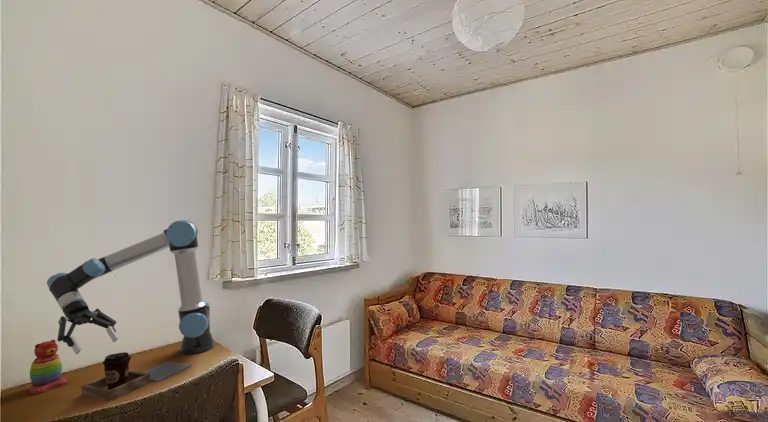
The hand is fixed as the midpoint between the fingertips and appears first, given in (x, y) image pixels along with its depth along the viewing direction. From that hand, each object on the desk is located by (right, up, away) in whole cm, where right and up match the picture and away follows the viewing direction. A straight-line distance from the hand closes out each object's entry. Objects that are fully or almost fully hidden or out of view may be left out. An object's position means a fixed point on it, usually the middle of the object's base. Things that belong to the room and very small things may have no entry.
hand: (98, 345), depth 143 cm
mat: (+19, -15, +11) cm, 27 cm away
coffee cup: (+10, -16, -4) cm, 19 cm away
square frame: (+10, -15, -4) cm, 19 cm away
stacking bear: (-20, -17, 0) cm, 26 cm away
